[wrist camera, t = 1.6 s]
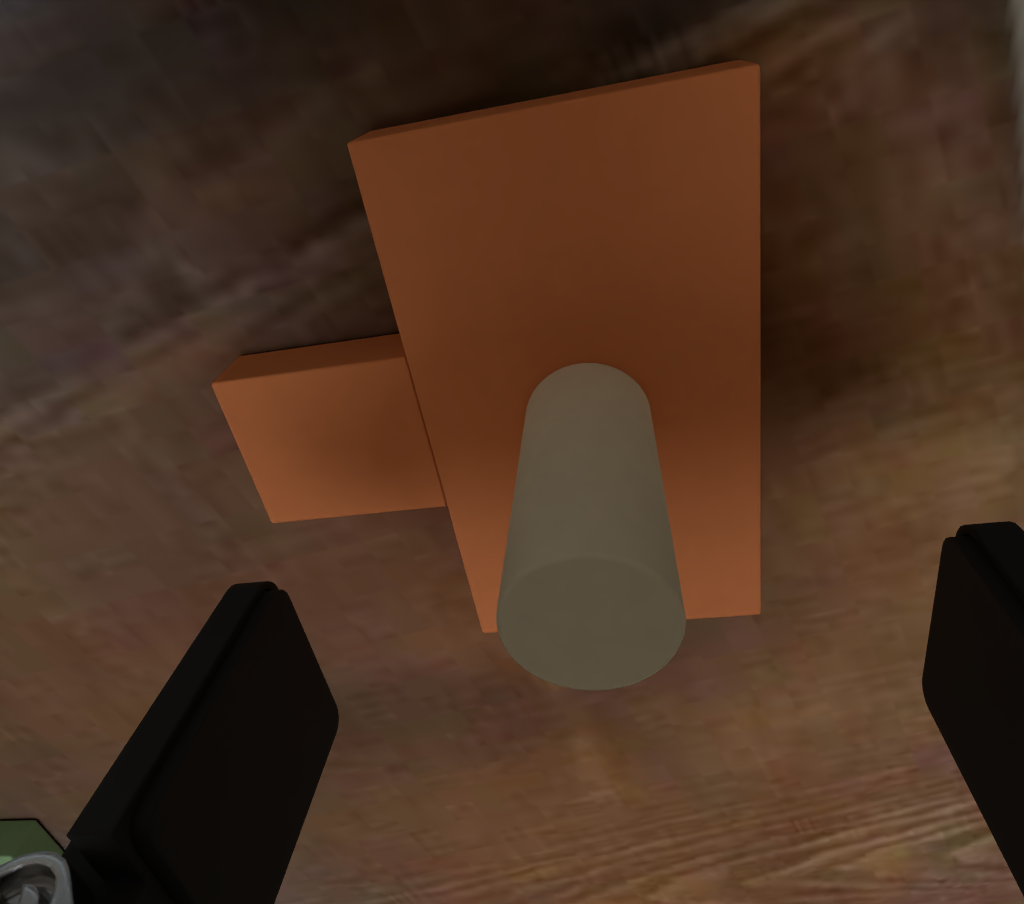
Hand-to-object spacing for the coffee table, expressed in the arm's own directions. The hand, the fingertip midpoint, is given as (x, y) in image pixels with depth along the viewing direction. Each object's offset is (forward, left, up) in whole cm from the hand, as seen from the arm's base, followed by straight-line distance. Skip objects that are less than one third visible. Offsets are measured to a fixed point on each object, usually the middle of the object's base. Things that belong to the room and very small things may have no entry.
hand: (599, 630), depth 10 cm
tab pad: (-1, -2, -7) cm, 7 cm away
